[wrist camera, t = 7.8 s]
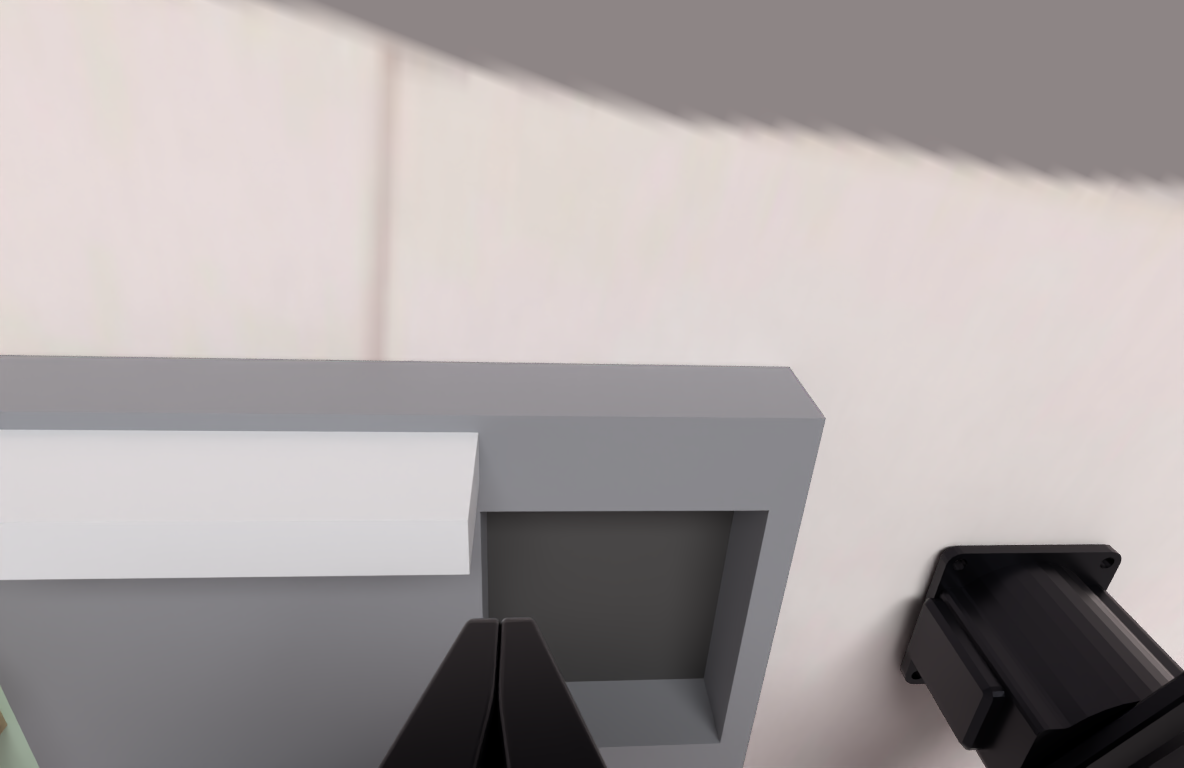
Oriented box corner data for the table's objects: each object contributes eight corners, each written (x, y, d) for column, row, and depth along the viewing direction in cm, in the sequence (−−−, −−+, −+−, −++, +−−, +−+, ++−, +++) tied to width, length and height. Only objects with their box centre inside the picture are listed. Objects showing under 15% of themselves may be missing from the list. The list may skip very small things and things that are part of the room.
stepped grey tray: (789, 366, 21) (883, 500, 16) (717, 723, 29) (763, 901, 23) (-461, 348, 18) (-907, 504, 13) (-183, 751, 26) (-384, 964, 20)
